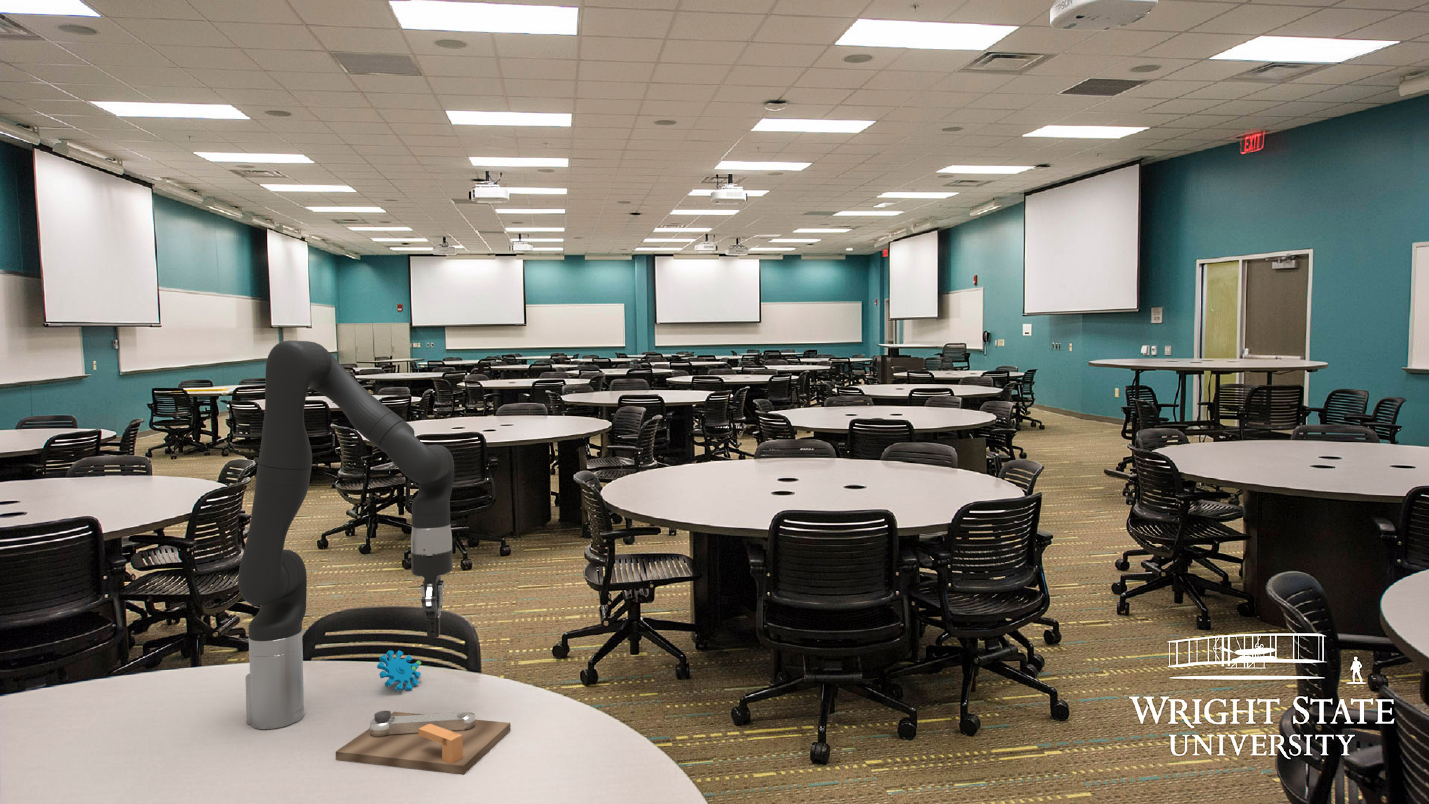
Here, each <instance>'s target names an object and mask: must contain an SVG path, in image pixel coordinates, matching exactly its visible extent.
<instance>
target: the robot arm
mask: <svg viewBox="0 0 1429 804" xmlns="http://www.w3.org/2000/svg"><path fill="white" fill-rule="evenodd" d="M264 379H265V384H264V387H265V389H264V390H265V392H264V398H265V399H264V401H265V402H264V416H263V423H262V430H261V431H262V433H261V441H260V449H259V455H258V461H257V466H256V474H255V484H254V485H255V486H254V495H253V502H252V507H251V514H250V521H249V528H248V531H247V532H248V533H247V537H246V541H245V545H244V549H243V552H242V557H241V562H240V563H239V569H238V574H237V575H238V576H237V587H238V589H239V590H238V591H239V593H240V596H241V597H242V599H243V600H244V601H245V602H246V603H248V604H250V605H251V606H257V607H258V606H260V608H259V610H258V612H257V613H256V615H255V616H254V617H253V618H252V620H251V621H250V622H249V624H248V655H249V657H248V659H249V660H248V661H249V673H247V674H246V675H245V706H246V707H245V709H246V713H245V714H246V715H245V716H246V724H247V725H251V727H253V728H255V729H258V730H271V729H278V728H283V727H287V726H290V725H292V724H296V723H297V722H299V721H300V720H301V719H302V718H304V716H305V698H304V697H305V696H304V695H305V694H304V693H305V692H304V691H305V690H304V688H305V687H304V656H303V655H304V654H303V650H304V649H303V621H304V618H305V616H306V613H307V593H308V592H307V591H308V588H307V587H308V583H307V582H308V580H307V579H308V576H307V575H308V574H307V569H306V565H305V563H304V561H303V558H302V557H301V556H300V555H299V554H298V553H297V552H295V551H293V550H290V549H284V547H285V542H286V538H287V533H288V532H289V529H290V527H291V524H292V523H293V521H294V519H295V517H296V516H297V514H298V512H299V510H300V508H301V506H302V505H303V502H304V501H305V498H306V496H307V493H308V490H309V486H310V480H311V475H312V474H311V473H312V467H313V452H312V447H311V443H310V440H309V437H308V432H307V430H306V425H305V418H304V417H305V415H304V414H305V404H306V398H307V394H308V389H311V390H312V391H315V392H318V393H319V394H321V395H323V396H324V397H326V398H327V399H329V400H330V401H331V402H332V403H334V404H335V405H336V406H337V407H338V408H339V409H340V410H341V411H342V413H343V414H344V415H345V416H346V418H347V419H348V421H349V423H350V424H351V425H352V427H353V428H354V429H355V430H356V431H357V432H358V433H359V434H360V435H361V436H363V437H364V438H365V439H366V440H368V441H369V442H370V443H371V444H373V445H374V446H375V447H377V448H378V450H380V451H381V452H383V453H385V454H386V455H387V457H388V458H389V459H390V460H391V461H392V463H393V464H394V465H395V466H396V468H398V469H399V471H400V472H401V473H402V474H403V475H404V476H406V477H407V478H408V479H409V480H411V481H413V482H415V483H417V484H418V492H417V494H416V496H415V497H414V498H413V500H412V504H411V526H412V527H411V535H410V550H411V551H410V553H411V554H410V555H411V573H412V575H414V576H416V577H422V578H424V579H423V581H422V584H420V594H421V596H422V597H421V599H420V602H421V607H422V612H423V619H424V620H426V637H427V638H428V639H436V638H439V636H440V635H441V614H442V608H443V603H444V588H445V580H444V579H442V578H441V577H442V576H444V575H447V574H449V573H451V572H452V571H453V536H452V535H453V534H452V527H451V506H450V503H451V502H450V501H451V495H452V491H453V484H454V478H455V477H454V476H455V461H454V457H453V455H452V453H451V451H450V450H449V449H448V448H447V447H445V446H443V445H439V444H432V445H426V444H424V443H423V442H422V441H421V440H420V439H419V438H418V437H416V435H415V430H414V428H413V427H412V426H411V425H410V424H409V423H408V422H407V421H405V420H404V419H403V418H402V417H400V415H398V414H397V413H395V412H394V411H393V410H391V409H390V408H389V407H387V406H386V405H385V404H383V402H381V401H379V399H377V398H376V397H375V396H374V395H372V394H371V393H370V392H369V391H368V390H367V389H366V388H364V387H363V385H361V384H360V383H359V382H358V381H357V380H356V379H355V378H354V377H353V376H352V375H351V374H350V373H349V372H348V371H347V369H345V367H344V366H342V364H341V363H340V362H339V361H338V359H336V358H335V357H334V355H333V354H332V353H331V352H330V351H329V350H327V348H325V347H324V346H323V345H321V344H319V343H317V342H316V341H315V342H314V341H309V340H283V341H280V342H279V343H276V344H275V345H274V346H273V347H272V348H271V349H270V352H269V354H268V356H267V359H266V364H265V377H264Z"/></svg>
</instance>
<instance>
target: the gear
mask: <svg viewBox="0 0 1429 804" xmlns="http://www.w3.org/2000/svg"><path fill="white" fill-rule="evenodd" d="M394 654H395V658H394V657H393V655H394ZM403 655H404V652H403V651H401V650H398V651H396V652H394V650H388V651H387V652H386V654H384V653H383V654H382V655H380V657H379V662H378V664H377V665H376V668H377V669H378V670H381V671H380V672H379V678H380V679H385V678H387V680H386V681H385V682H384V685H385V687H388V688H390V687H391V686H393V684H394V683H397V685H396V686H395V687H394V688H395V690H396V691H397V692H401V691H402V690H403V689H405V691H411V690H413V687H416V686H417V685H418V684H420V681H419V680H418V679H419V678H420V677H421V675H422V673H421V672H420V671H417V670H418V668H419V667H420V666H421V665H422V662H421V661H420V660H417V661H416V662H413V663H410V662H411V661H412V660H413V658H412V655H410V654H408V655H407V656H405V658H402V656H403ZM404 683H405V687H404Z"/></svg>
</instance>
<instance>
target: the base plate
mask: <svg viewBox="0 0 1429 804" xmlns="http://www.w3.org/2000/svg"><path fill="white" fill-rule="evenodd" d="M408 715H425V714H423V713H412V712H404V711H393V712H391V711H390V710H380V711H377V712H375V713H374V718H375V722H385V721H388V720H390V719H391V716H408ZM374 718H373V719H374ZM511 729H512V728H511V722H505V721H494V720H485V719H484V720H483V719H475V726H474V727H473V728H470V729H466V730H452V732H455V733H458V734H461V735H462V743H463V758H461V759H459V760H457V761H455V762H453V763H452V764H451V763H449V762H446V761H444V760H442V744H441V743H438V742H435V741H433V740H430V739H427V738H425V737H422V736H419V733H404V734H389V735H386V736H372V735H371V734H370V727H369V728H368V729H366V730H365V731H364V732H362V733H360V734H359V735H358V736H356V737H355V738H353V739H352V740H350V741H349V742H347V743H346V744H344V745H343V746H342V747H340V748H339V749H337V750H336V751H335V760H336V761H344V762H350V763H360V764H366V765H367V764H369V765H378V766H385V767H386V766H387V767H395V768H404V769H414V770H422V771H428V772H429V771H430V772H431V771H432V772H437V773H440V772H441V773H447V774H458V775H465V774H466V773H467V772H468V771H469V770H470V769H471V768H472V767H473V766H474V765H475V764H477V763H478V762H479V761H480V760H482V758H483V757H484V756H485V755H486V754H488V752H489V751H491V750H492V748H494V747H495V746H496V745H497V744H498V743H499V742H500V741H502V739H504V737H505V736H506V735H507V734H508V733H510V732H511Z"/></svg>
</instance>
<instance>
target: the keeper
mask: <svg viewBox="0 0 1429 804" xmlns="http://www.w3.org/2000/svg"><path fill="white" fill-rule="evenodd" d="M418 733H419V736H422V737H425V738H427V739H430V740H433V741H435V742H438V743H441V744H442V760H444V761H446V762H449V763H451V764H452V763H453V762H455V761H457V760H459V759H461V758H463V743H462V735H461V734H458V733H455V732H452V731H449V730H447V729H444V728H441V727H438V726H435V725H433V724H428V725H425V726H423V727H421V728H419V729H418Z"/></svg>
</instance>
